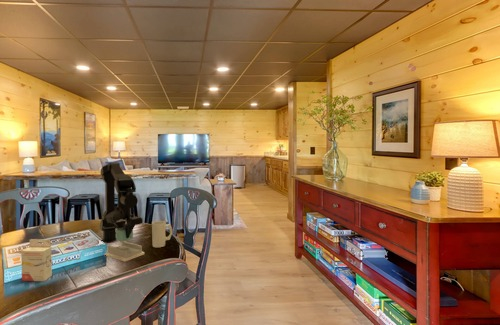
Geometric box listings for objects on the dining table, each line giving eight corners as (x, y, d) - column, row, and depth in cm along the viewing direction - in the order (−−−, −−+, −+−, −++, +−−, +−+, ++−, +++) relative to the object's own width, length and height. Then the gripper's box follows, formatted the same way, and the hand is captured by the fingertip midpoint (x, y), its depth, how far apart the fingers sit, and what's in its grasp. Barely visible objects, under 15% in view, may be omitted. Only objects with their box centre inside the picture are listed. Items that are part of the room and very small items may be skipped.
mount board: (104, 255, 141) (104, 246, 141) (124, 248, 151) (124, 240, 151) (124, 261, 134) (124, 252, 134) (144, 254, 144) (144, 245, 144)
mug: (151, 248, 152) (151, 224, 152) (152, 244, 159) (152, 221, 158) (172, 247, 155) (172, 223, 154) (172, 242, 161) (172, 220, 161)
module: (121, 241, 139) (121, 229, 139) (116, 240, 141) (116, 228, 141) (132, 238, 144) (132, 226, 144) (127, 236, 146) (127, 225, 146)
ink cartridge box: (21, 281, 114) (19, 242, 113) (30, 275, 119) (29, 238, 118) (44, 281, 114) (43, 242, 113) (52, 275, 119) (51, 238, 118)
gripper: (95, 204, 139) (96, 238, 140) (122, 209, 130) (122, 245, 131) (117, 200, 149) (117, 232, 150) (143, 205, 139) (143, 238, 140)
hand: (124, 237), depth 142 cm, fingers closed on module, 4 cm apart
